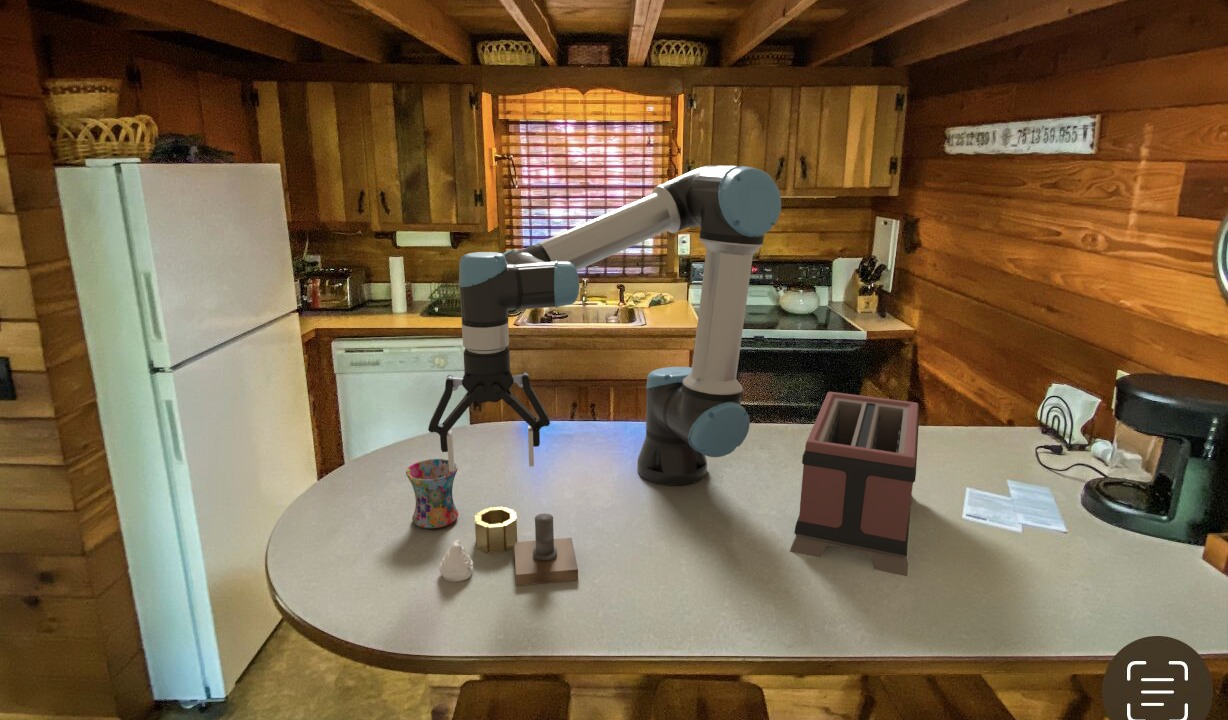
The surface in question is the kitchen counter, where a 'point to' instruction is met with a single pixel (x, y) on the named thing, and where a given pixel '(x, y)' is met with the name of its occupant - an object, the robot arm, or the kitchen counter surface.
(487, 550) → the ring
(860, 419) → the toaster
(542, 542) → the shaft block
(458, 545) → the garlic bulb
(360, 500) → the kitchen counter surface
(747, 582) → the kitchen counter surface
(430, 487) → the mug
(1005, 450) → the kitchen counter surface
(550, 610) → the kitchen counter surface
